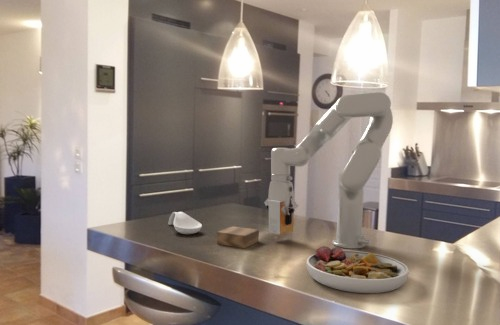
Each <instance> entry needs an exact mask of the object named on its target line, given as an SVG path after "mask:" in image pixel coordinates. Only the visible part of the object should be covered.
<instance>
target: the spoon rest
mask: <svg viewBox="0 0 500 325" xmlns="http://www.w3.org/2000/svg"><path fill="white" fill-rule="evenodd" d="M167 223H168V225H169V226H173V227H174V229H175V231H177V232H178V233H179V234H181V235H193V234H196V233H198V232H200V231H201V229H202V227H203V224H202V223H201V222H199V220H196V219H195V218H193V217H192V216H190V215H188V214H187V213H185V212H183V211H178V212H177V211H173V212H171V214H170V216H169V217H168V222H167Z"/></svg>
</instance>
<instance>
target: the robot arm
mask: <svg viewBox="0 0 500 325" xmlns="http://www.w3.org/2000/svg"><path fill="white" fill-rule="evenodd" d="M391 105H392V100H391V98H390V96H388V95H387V94H386V93H384V92H380V91H377V92H369V93H366V92H365V93H357V94H356V93H355V94H345V95H342V96H340V97H339V98H338V99H337V100H336V102H335V103H334V104H332V106H331V107H330V108H329V109H328V110H327V111H326V112H325V113H324V114H323V116H322V117H320V119H319V120H318V121H317V122H316V123H315V124H314V125H313V127H312V128H311V130H310V131H309V133H308V134H307V135H306V136H305V137H304V138H303V139H302V141H301V142H300V143H299V144H298V145H296V147H293V148H288V147H273V148H272V149H271V150H270V151H271V152H270V153H271V154H270V156H271V157H270V163H271V165H270V166H271V167H270V168H271V169H270V174H271V175H270V177H271V178H270V180H271V181H270V182H269V188H268V197H267V198H266V200H265V201H264V205H265V207H266V209H267V210H268V211H269V200H276V201H283V202H284V208H285V211H286V213H287V215H286V216H285V218H286V225H289V224H291V222H292V214H293V215H294V212H296V210H297V209H298V208H299V204H298V203H297V201H295V192H294V186H293V182H291V181H292V180H293V176H291V167H297V168H300V167H304V166H306V165H307V164H308V163H309V161H310V160H311V159H312V158H313V157H314V156H315V155H316V153H317V152H318V151H319V150H320V149H321V148H322V147H324V146H325V144H327V143H328V142H330V141H331V140H332V139H333V138H335V136H336V135H337V134H338V133H339V132H340V130H341V129H342V128H344V126H345V125H346V124H347V123H349V121H350V120H351V119H352V118H353V119H354V118H365V117H369V121H368V125H367V127H366V129H364V133H363V134H362V135H361V138H360V139H359V140H358V142H357V143H356V145H355V147H353V148H354V149H353V152H352V155H351V157H350V158H349V160H348V162H347V164H346V165H344V166H343V167H342V168H341V170H340V171H339V174H338V193H337V194H338V196H337V197H338V199H337V200H338V202H337V218H336V219H337V220H336V237H335V238H334V239H333V240H332V241H331V242H332V243H331V244H332V245H334V247H338V248H341V249H342V248H344V249H354V250H355V249H362V248H364V247H365V246H366V245H368V246H370V245H371V243H372V242H371V238H366V237H365V234H363V233H362V232H363V231H362V230H363V212H364V211H363V208H364V187H365V186H366V184H367V182H368V181H369V179H370V178H371V176H372V174H373V172H374V171H375V169H376V168H377V165H378V164H379V162H380V160H381V158H382V157H381V156H382V151H381V150H382V148H383V146H384V144H385V143H386V140H387V138H388V137H389V134H390V132H391V130H392V127H393V124H394V122H393V121H394V120H393V112H392V109H391ZM290 203H291V204H292V206H290ZM291 207H292V208H291ZM288 208H289V209H288Z"/></svg>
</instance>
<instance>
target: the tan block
mask: <svg viewBox="0 0 500 325" xmlns="http://www.w3.org/2000/svg"><path fill="white" fill-rule="evenodd" d="M216 234H217V235H216V244H217V245H222V246H230V247H236V248H242V249H246V248H248V247H250V246H252V245H254V244H256V243H258V242H259V237H260V236H259V234H260V230H259V229H257V228H249V227H241V226H240V227H239V226H233V225H232V226H229V227H226V228H223V229H222V230H218V231H217V233H216Z"/></svg>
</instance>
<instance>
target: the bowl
mask: <svg viewBox="0 0 500 325" xmlns="http://www.w3.org/2000/svg"><path fill="white" fill-rule="evenodd" d="M306 268H307V272H308V273H309V275H310V276H311V277H312V279H314V280H315V281H316V282H318V283H319V284H321V285H324V286H326V287H328V288H331V289H335V290H339V291H342V292H343V291H344V292H349V293H354V294H355V293H357V294H381V293H388V292H391V291H394V290H396V289H397V290H398V288H400V287H402V286H403V285H404V284H405V283H406V281H407V280H408V277H409V270H410V269H409V267H408V266H407V265H406V264H405V263H403V262H402V261H399V260H397V259H396V258H392V257H390V256H386V255H382V254H378V253H373V252H366V251H358V250H343V249H342V247H338V246H334V247H333V248H330V247H328V246H325V245H323V246H320V247H319V248H317V249H316V251H315V253H313V254H312V255H310V256H308V257H307V259H306Z"/></svg>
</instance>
